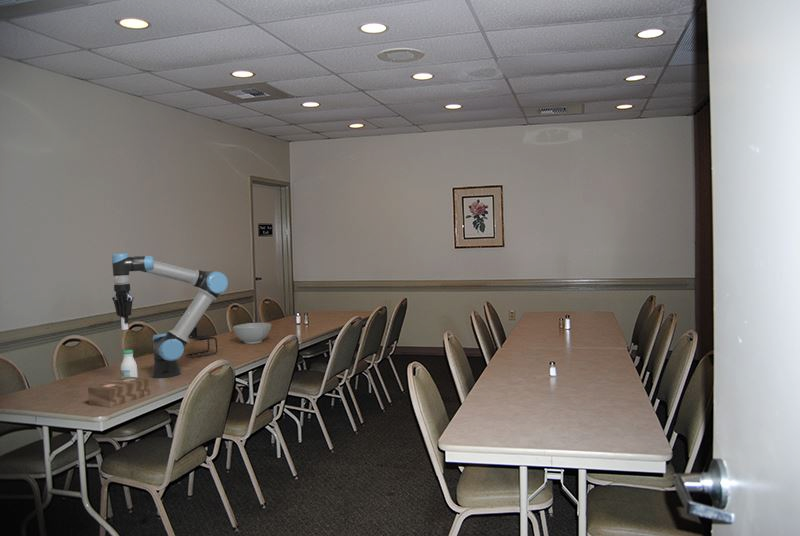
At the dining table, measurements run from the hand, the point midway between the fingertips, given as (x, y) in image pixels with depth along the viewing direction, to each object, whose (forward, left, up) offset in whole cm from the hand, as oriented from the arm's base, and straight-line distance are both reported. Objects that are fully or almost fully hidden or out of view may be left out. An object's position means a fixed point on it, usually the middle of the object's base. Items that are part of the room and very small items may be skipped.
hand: (124, 329), depth 304 cm
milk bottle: (+6, +8, -30) cm, 31 cm away
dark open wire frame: (-75, -22, -30) cm, 84 cm away
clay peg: (+27, +19, -29) cm, 44 cm away
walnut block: (+21, +19, -29) cm, 41 cm away
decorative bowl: (-122, -18, -30) cm, 127 cm away
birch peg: (+16, +19, -29) cm, 38 cm away
